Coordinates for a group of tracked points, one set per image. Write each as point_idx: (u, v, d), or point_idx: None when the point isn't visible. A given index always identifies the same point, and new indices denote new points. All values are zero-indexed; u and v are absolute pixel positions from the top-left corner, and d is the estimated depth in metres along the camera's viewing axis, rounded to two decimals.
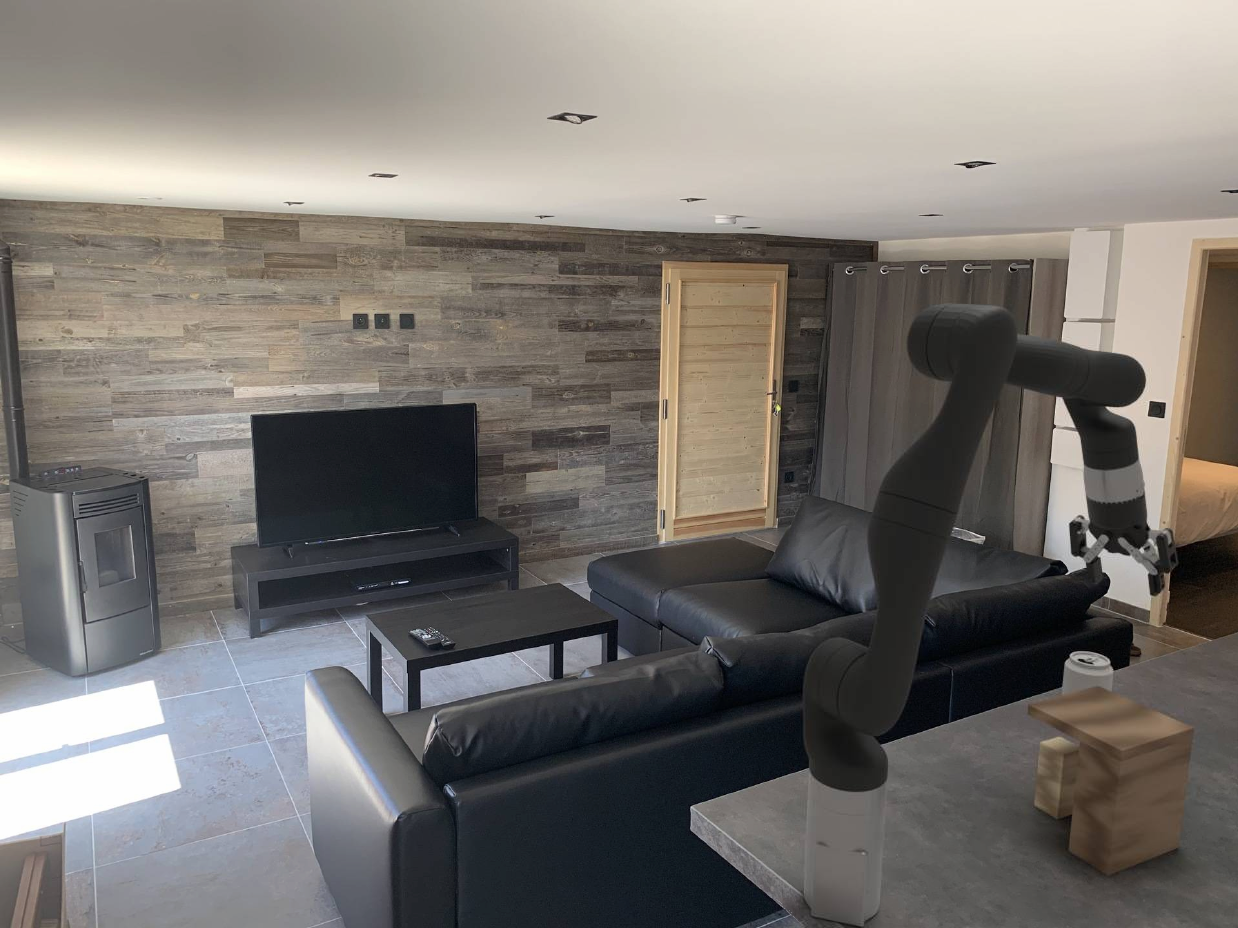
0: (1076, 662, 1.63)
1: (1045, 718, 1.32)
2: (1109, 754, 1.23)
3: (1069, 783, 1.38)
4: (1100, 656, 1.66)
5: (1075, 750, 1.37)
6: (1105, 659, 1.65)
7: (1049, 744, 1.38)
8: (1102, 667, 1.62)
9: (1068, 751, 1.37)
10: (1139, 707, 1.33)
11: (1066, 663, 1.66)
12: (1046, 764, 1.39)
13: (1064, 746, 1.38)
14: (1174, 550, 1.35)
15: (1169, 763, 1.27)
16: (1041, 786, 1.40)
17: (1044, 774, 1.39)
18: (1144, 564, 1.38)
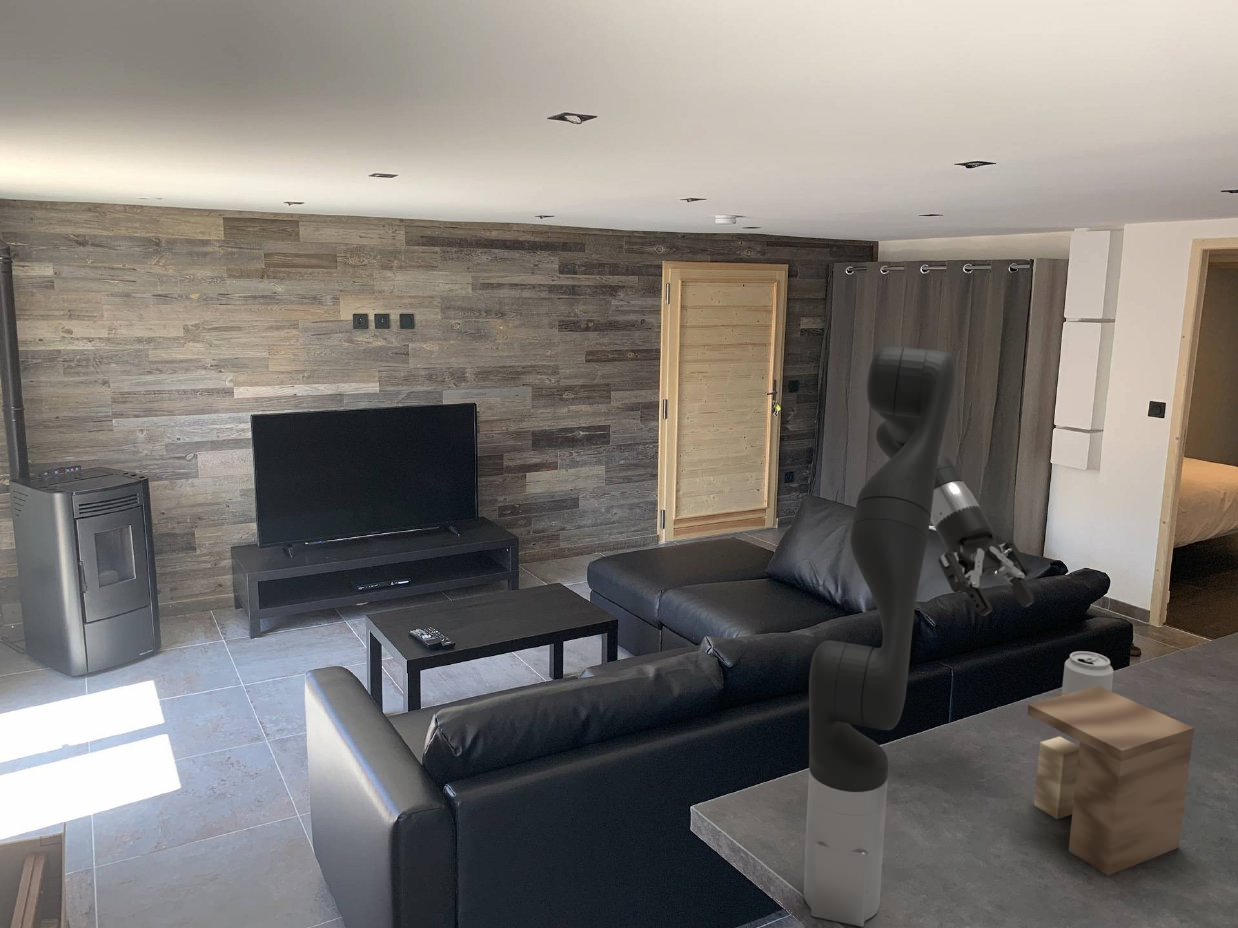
0: (1076, 662, 1.63)
1: (1045, 718, 1.32)
2: (1109, 754, 1.23)
3: (1069, 783, 1.38)
4: (1100, 656, 1.66)
5: (1075, 750, 1.37)
6: (1105, 659, 1.65)
7: (1049, 744, 1.38)
8: (1102, 667, 1.62)
9: (1068, 751, 1.37)
10: (1139, 707, 1.33)
11: (1066, 663, 1.66)
12: (1046, 764, 1.39)
13: (1064, 746, 1.38)
14: None
15: (1169, 763, 1.27)
16: (1041, 786, 1.40)
17: (1044, 774, 1.39)
18: (1013, 570, 1.48)
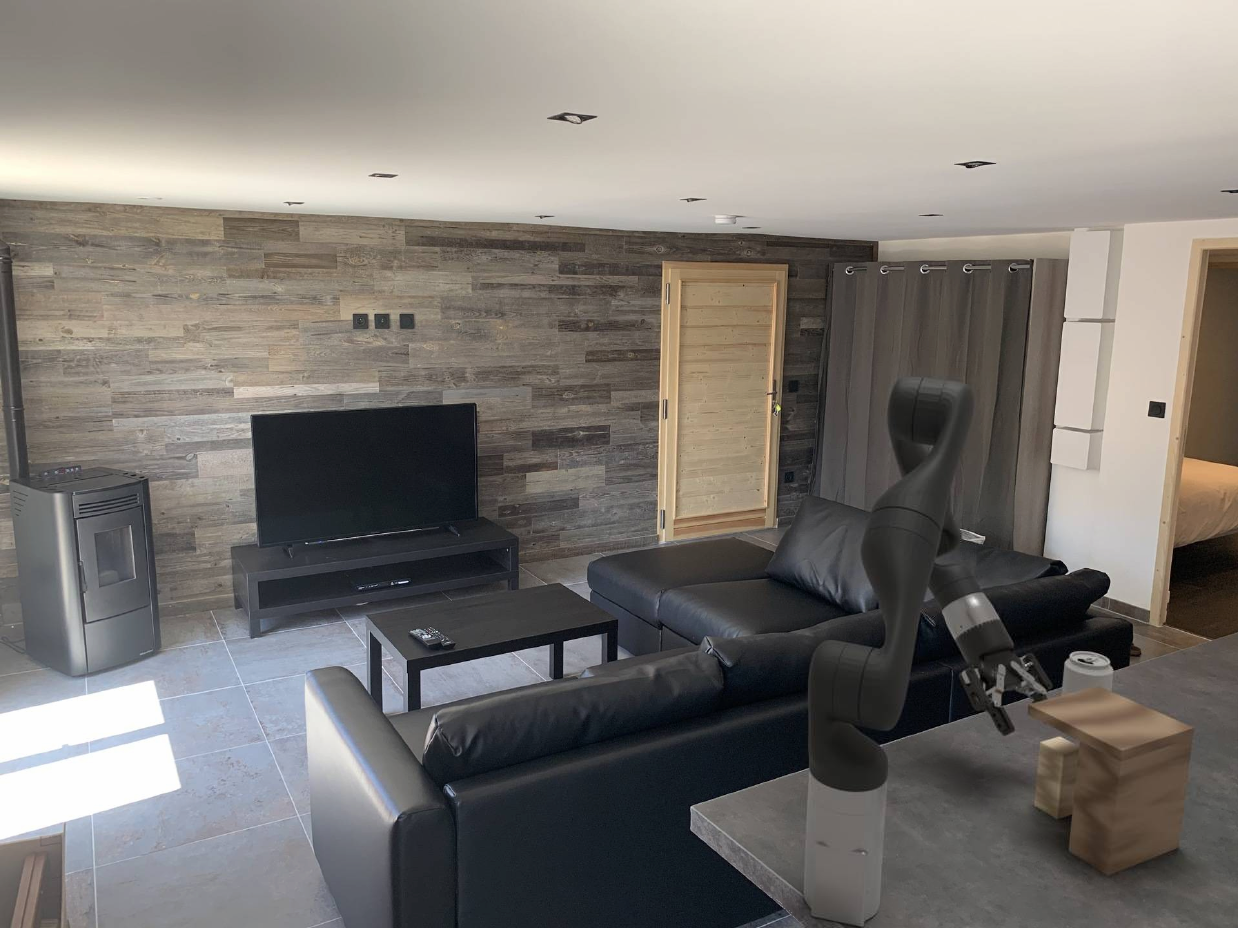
0: (1076, 662, 1.63)
1: (1045, 718, 1.32)
2: (1109, 754, 1.23)
3: (1069, 783, 1.38)
4: (1100, 656, 1.66)
5: (1075, 750, 1.37)
6: (1105, 659, 1.65)
7: (1049, 744, 1.39)
8: (1102, 667, 1.62)
9: (1068, 751, 1.37)
10: (1139, 707, 1.33)
11: (1066, 663, 1.66)
12: (1046, 764, 1.39)
13: (1064, 746, 1.38)
14: None
15: (1169, 763, 1.27)
16: (1041, 786, 1.40)
17: (1044, 774, 1.39)
18: (1034, 686, 1.46)
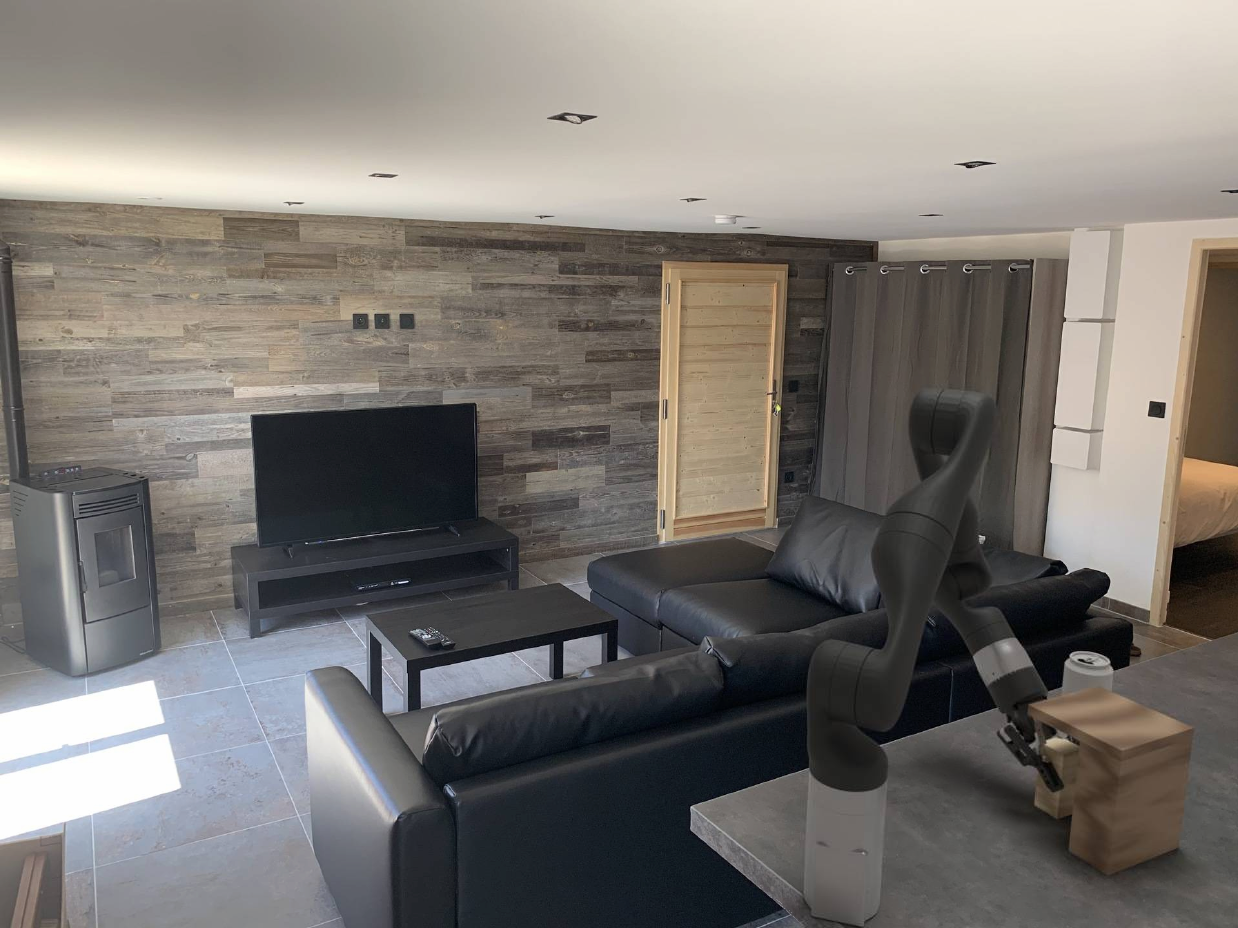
0: (1076, 662, 1.63)
1: (1045, 718, 1.32)
2: (1109, 754, 1.23)
3: (1069, 783, 1.38)
4: (1100, 656, 1.66)
5: (1075, 750, 1.37)
6: (1105, 659, 1.65)
7: (1049, 744, 1.38)
8: (1102, 667, 1.62)
9: (1068, 751, 1.37)
10: (1139, 707, 1.33)
11: (1066, 663, 1.66)
12: None
13: (1064, 746, 1.38)
14: None
15: (1169, 763, 1.27)
16: (1041, 786, 1.40)
17: None
18: None
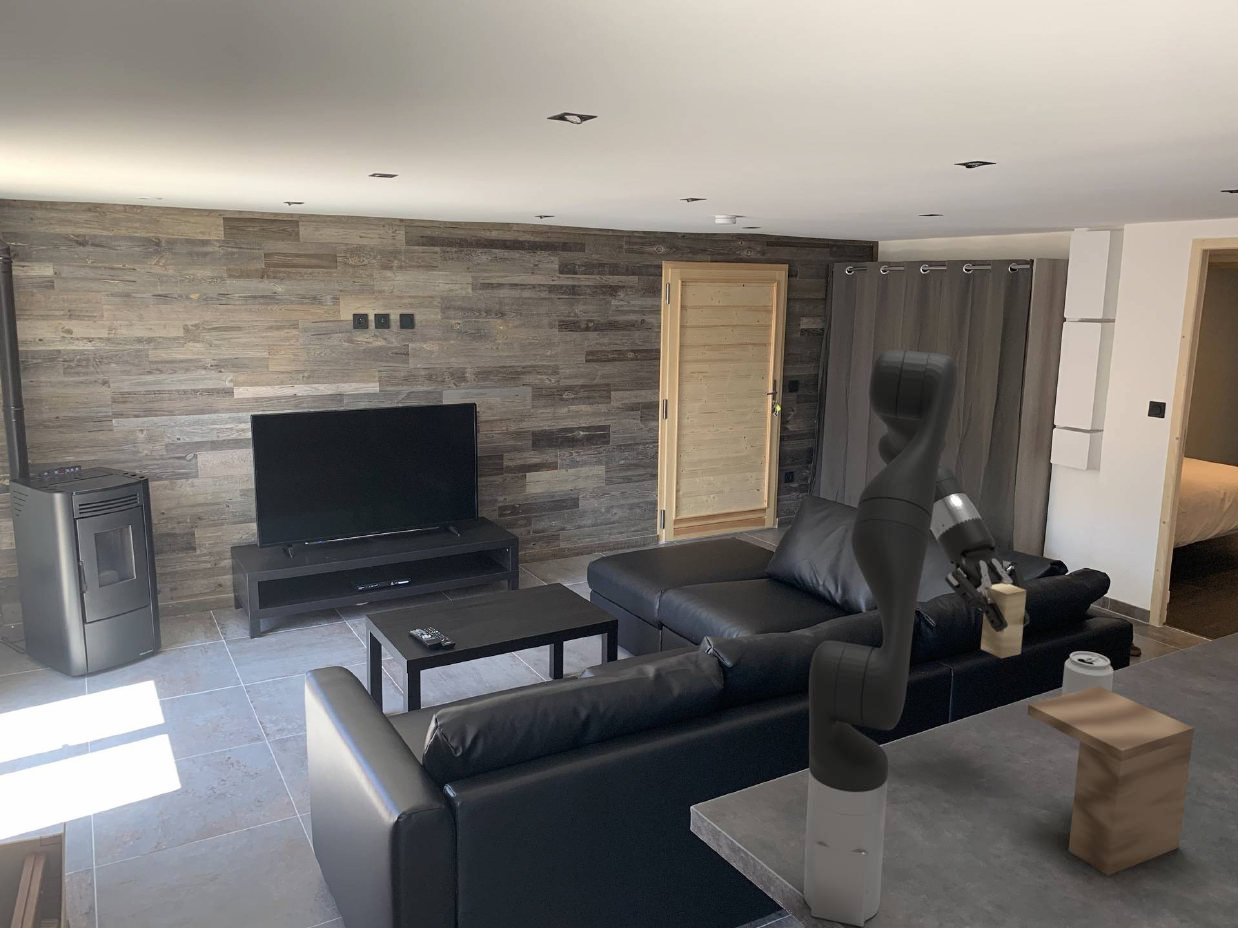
0: (1076, 662, 1.63)
1: (1045, 718, 1.32)
2: (1109, 754, 1.23)
3: (1013, 623, 1.44)
4: (1100, 656, 1.66)
5: (1018, 591, 1.44)
6: (1105, 659, 1.65)
7: (994, 587, 1.45)
8: (1102, 667, 1.62)
9: (1011, 592, 1.43)
10: (1139, 707, 1.33)
11: (1066, 663, 1.66)
12: None
13: (1008, 589, 1.45)
14: None
15: (1169, 763, 1.27)
16: (986, 629, 1.46)
17: None
18: None
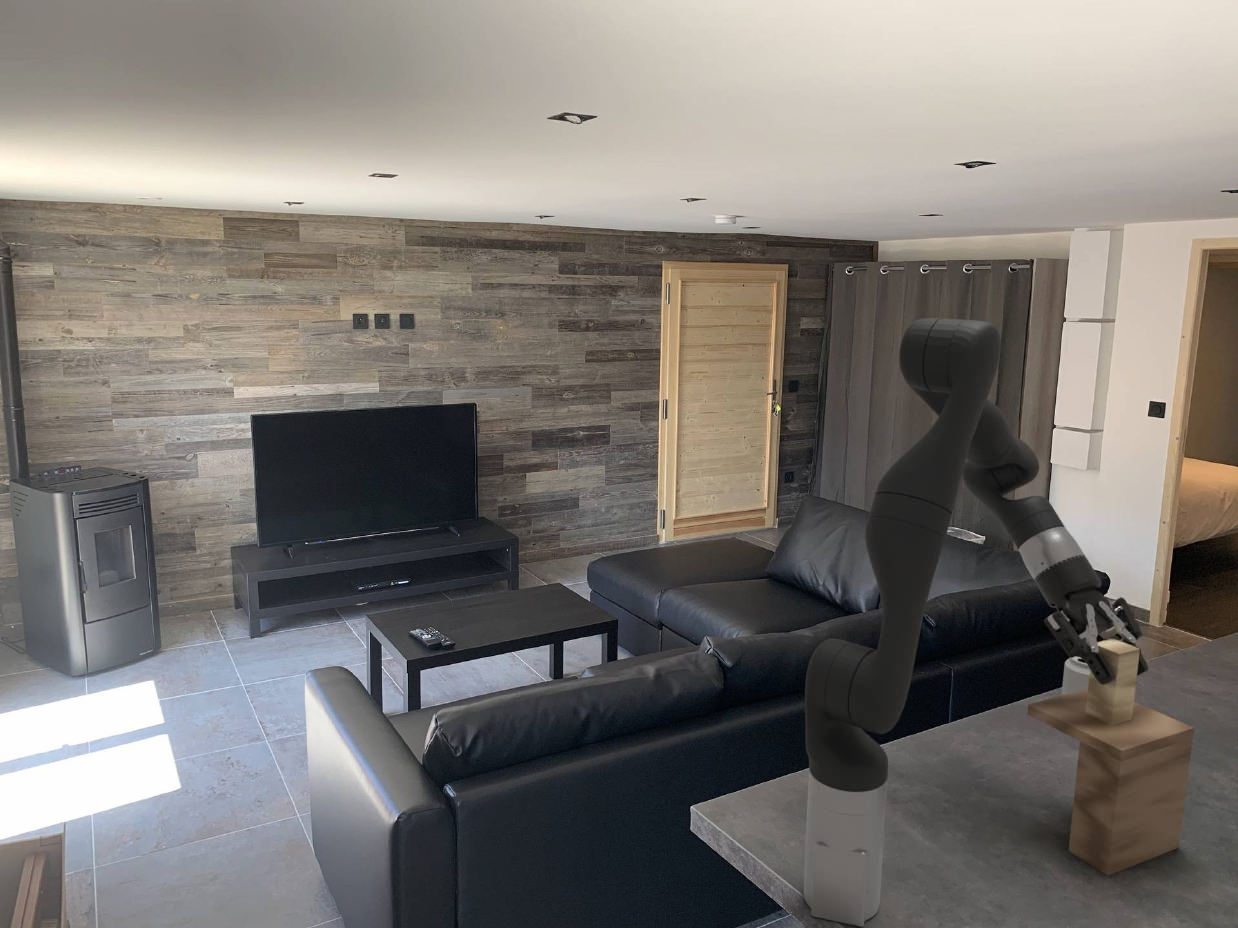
0: (1076, 662, 1.63)
1: (1045, 718, 1.32)
2: (1109, 754, 1.23)
3: (1125, 686, 1.28)
4: None
5: (1131, 650, 1.27)
6: None
7: (1103, 645, 1.29)
8: None
9: (1124, 651, 1.27)
10: (1139, 707, 1.33)
11: (1066, 663, 1.66)
12: None
13: (1119, 647, 1.28)
14: (1124, 624, 1.35)
15: (1169, 763, 1.27)
16: (1093, 691, 1.30)
17: None
18: (1123, 632, 1.31)
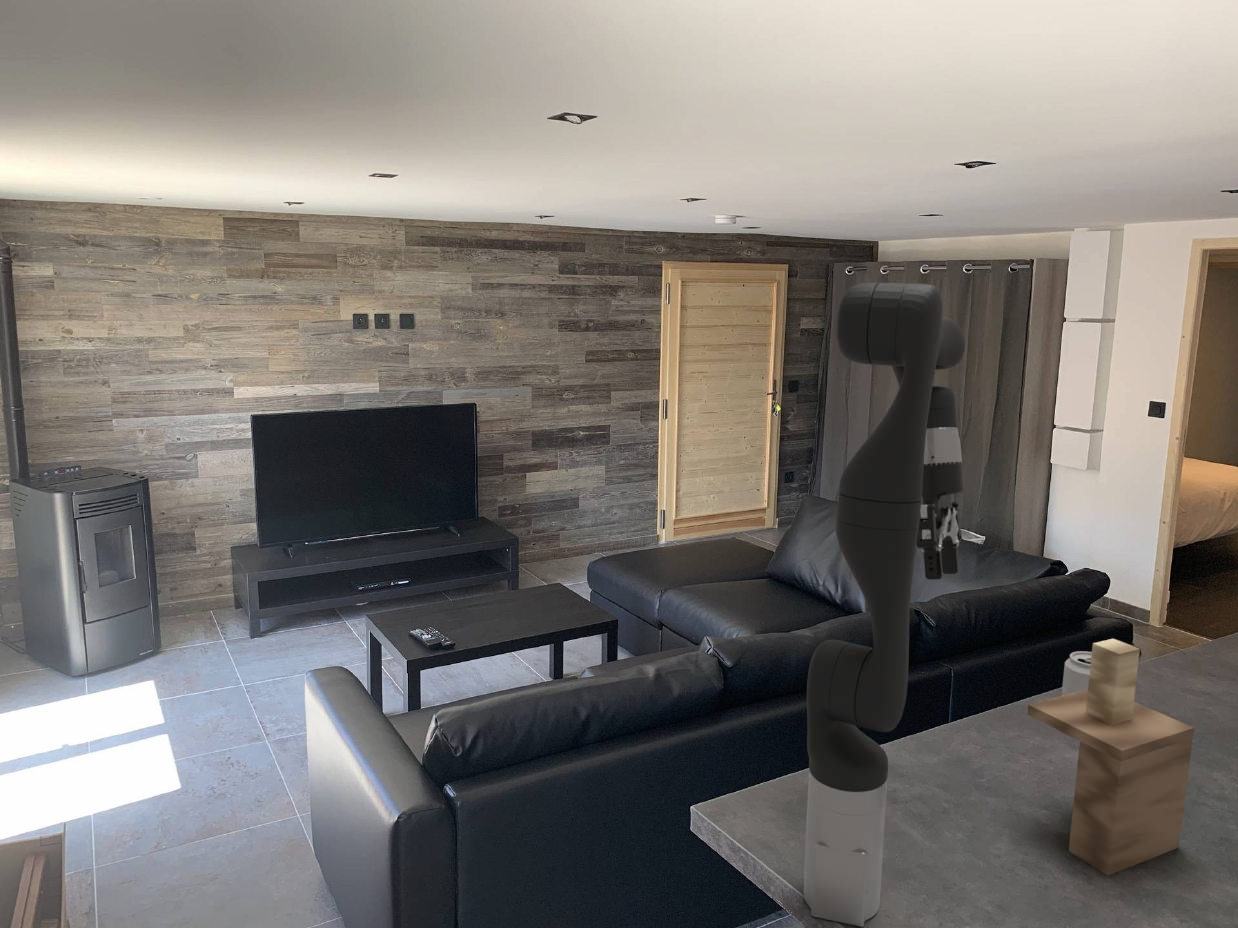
0: (1076, 662, 1.63)
1: (1045, 718, 1.32)
2: (1109, 754, 1.23)
3: (1125, 686, 1.28)
4: None
5: (1131, 650, 1.27)
6: None
7: (1103, 645, 1.29)
8: None
9: (1124, 651, 1.27)
10: (1139, 707, 1.33)
11: (1066, 663, 1.66)
12: (1100, 666, 1.29)
13: (1119, 647, 1.28)
14: None
15: (1169, 763, 1.27)
16: (1093, 691, 1.30)
17: (1097, 678, 1.30)
18: (955, 536, 1.39)
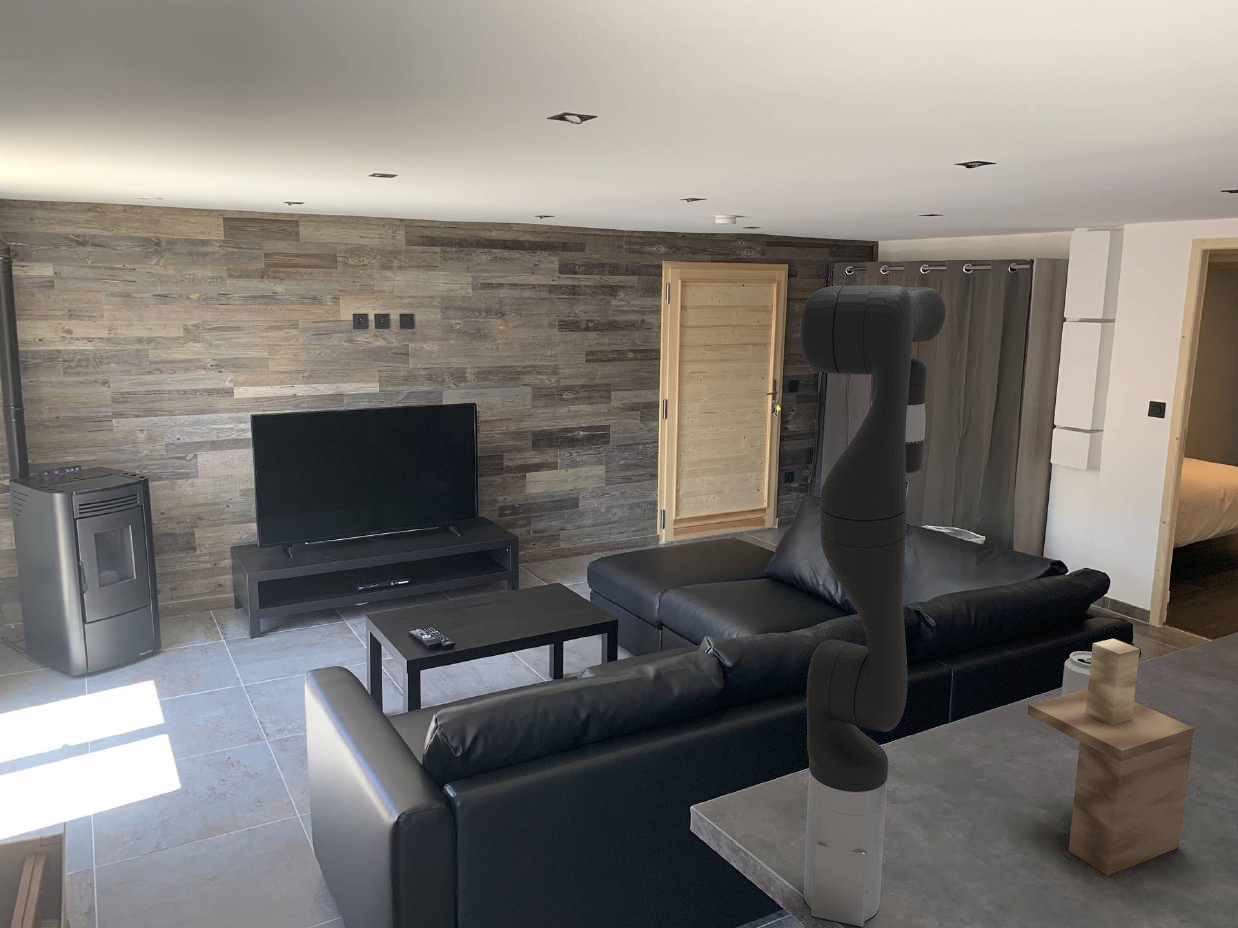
0: (1076, 662, 1.63)
1: (1045, 718, 1.32)
2: (1109, 754, 1.23)
3: (1125, 686, 1.28)
4: None
5: (1131, 650, 1.27)
6: None
7: (1103, 645, 1.29)
8: None
9: (1124, 651, 1.27)
10: (1139, 707, 1.33)
11: (1066, 663, 1.66)
12: (1100, 666, 1.29)
13: (1119, 647, 1.28)
14: None
15: (1169, 763, 1.27)
16: (1093, 691, 1.30)
17: (1097, 678, 1.30)
18: None
